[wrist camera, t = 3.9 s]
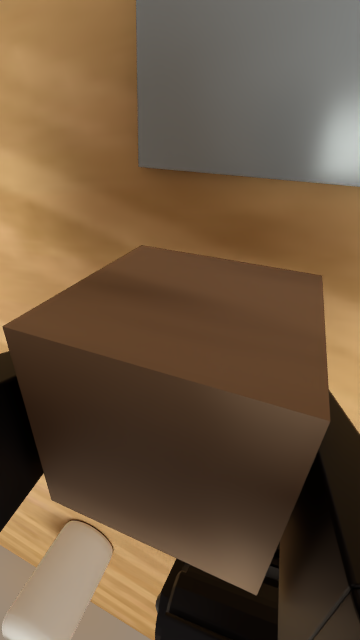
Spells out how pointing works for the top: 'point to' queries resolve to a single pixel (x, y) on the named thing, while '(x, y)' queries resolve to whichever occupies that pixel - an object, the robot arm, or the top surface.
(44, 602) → the pill bottle
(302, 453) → the walnut block
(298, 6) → the plate
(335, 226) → the top surface
